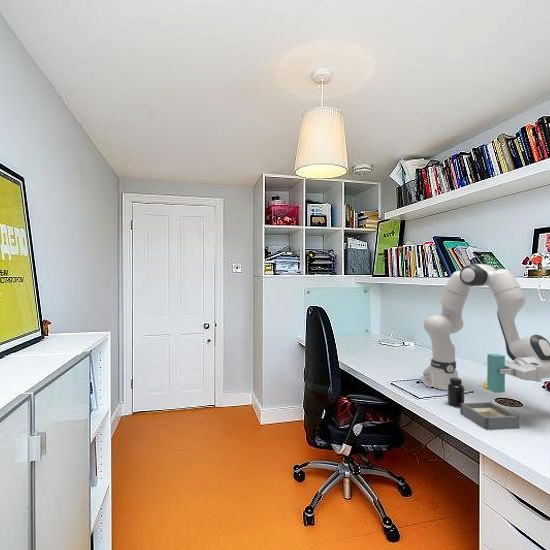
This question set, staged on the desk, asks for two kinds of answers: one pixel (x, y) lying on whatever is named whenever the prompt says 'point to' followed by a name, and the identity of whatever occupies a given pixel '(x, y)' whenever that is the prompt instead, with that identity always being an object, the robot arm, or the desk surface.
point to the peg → (495, 373)
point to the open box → (489, 415)
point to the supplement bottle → (455, 392)
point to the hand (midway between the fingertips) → (493, 369)
